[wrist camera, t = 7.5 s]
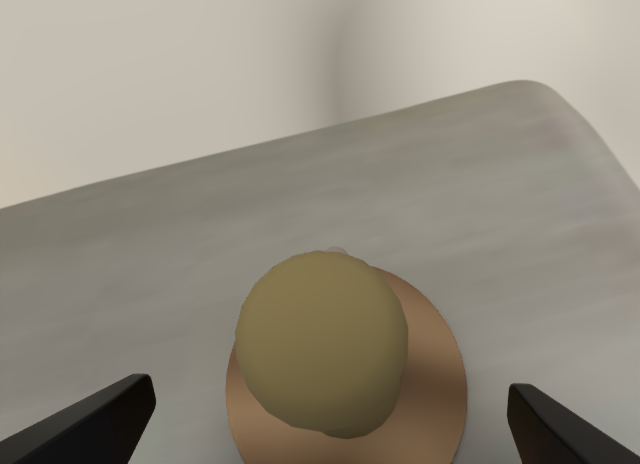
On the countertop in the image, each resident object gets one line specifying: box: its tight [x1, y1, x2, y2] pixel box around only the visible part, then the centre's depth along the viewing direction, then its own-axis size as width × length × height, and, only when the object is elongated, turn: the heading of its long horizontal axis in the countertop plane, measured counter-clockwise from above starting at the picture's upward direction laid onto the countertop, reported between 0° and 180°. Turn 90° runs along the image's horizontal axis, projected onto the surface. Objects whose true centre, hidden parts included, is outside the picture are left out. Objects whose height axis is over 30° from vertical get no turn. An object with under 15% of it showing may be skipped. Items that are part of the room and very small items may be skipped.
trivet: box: [226, 247, 467, 464], centre depth 18 cm, size 13×13×4 cm
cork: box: [235, 251, 408, 439], centre depth 14 cm, size 6×6×11 cm
